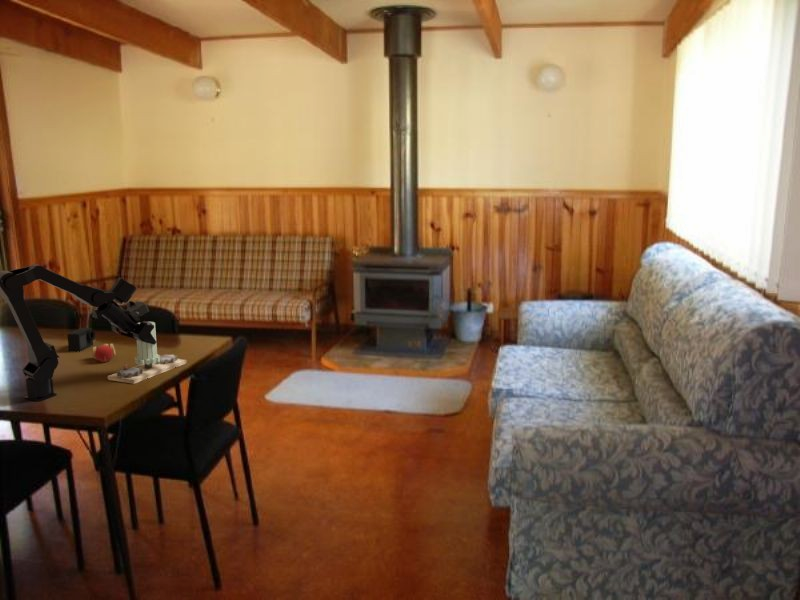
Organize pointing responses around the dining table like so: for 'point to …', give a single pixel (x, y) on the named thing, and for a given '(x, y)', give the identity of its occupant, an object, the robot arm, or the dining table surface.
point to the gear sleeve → (147, 351)
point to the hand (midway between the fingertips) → (150, 341)
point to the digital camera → (80, 339)
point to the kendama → (104, 352)
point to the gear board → (146, 369)
